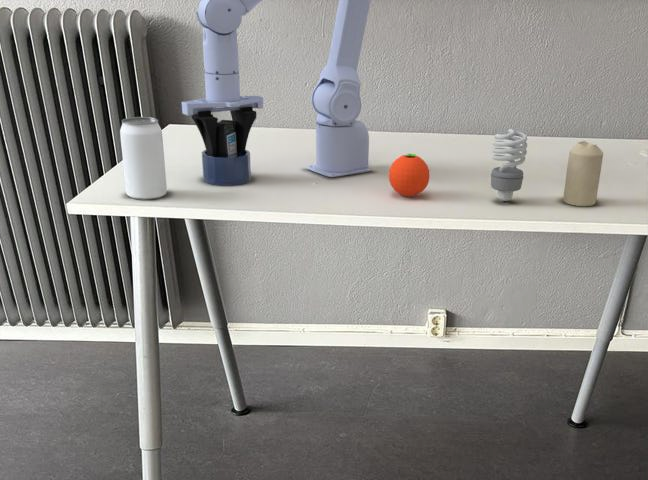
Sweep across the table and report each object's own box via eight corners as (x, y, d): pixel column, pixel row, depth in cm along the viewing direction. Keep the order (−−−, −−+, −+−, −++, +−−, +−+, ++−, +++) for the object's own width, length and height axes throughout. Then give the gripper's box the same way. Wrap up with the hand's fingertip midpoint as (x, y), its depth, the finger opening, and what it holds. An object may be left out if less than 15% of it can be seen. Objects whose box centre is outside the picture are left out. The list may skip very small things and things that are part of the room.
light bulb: (511, 208, 137) (519, 134, 132) (481, 202, 140) (488, 129, 134) (527, 201, 141) (535, 129, 136) (497, 195, 144) (504, 124, 139)
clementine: (392, 187, 146) (394, 146, 143) (431, 190, 145) (434, 149, 142) (384, 199, 139) (386, 156, 136) (425, 202, 138) (428, 159, 135)
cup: (235, 171, 153) (234, 145, 151) (259, 181, 147) (258, 154, 145) (195, 177, 148) (193, 150, 146) (217, 187, 142) (216, 159, 140)
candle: (602, 204, 141) (611, 144, 137) (577, 208, 138) (586, 147, 134) (580, 196, 145) (588, 138, 141) (556, 199, 143) (563, 140, 138)
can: (126, 201, 133) (118, 124, 128) (126, 190, 139) (118, 116, 134) (168, 199, 135) (161, 123, 130) (166, 189, 141) (160, 116, 135)
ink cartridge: (227, 171, 144) (224, 125, 141) (216, 170, 145) (211, 124, 141) (240, 165, 149) (237, 119, 145) (229, 164, 149) (225, 118, 146)
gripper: (193, 78, 133) (199, 163, 139) (271, 72, 141) (273, 153, 147) (173, 72, 138) (180, 155, 144) (250, 67, 146) (253, 145, 152)
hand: (226, 153), depth 146 cm, fingers closed on ink cartridge, 5 cm apart
